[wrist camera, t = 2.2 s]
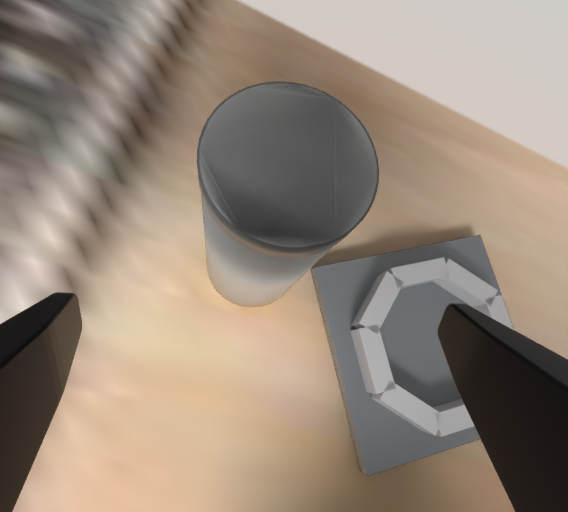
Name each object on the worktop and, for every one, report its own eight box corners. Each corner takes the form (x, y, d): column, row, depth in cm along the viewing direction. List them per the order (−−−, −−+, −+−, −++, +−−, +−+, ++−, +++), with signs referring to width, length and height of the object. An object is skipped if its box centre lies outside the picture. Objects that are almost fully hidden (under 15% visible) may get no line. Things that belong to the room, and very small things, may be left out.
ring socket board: (533, 415, 21) (565, 420, 19) (361, 471, 19) (377, 483, 17) (471, 239, 23) (494, 228, 21) (310, 270, 21) (320, 261, 19)
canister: (305, 298, 20) (400, 232, 10) (215, 317, 19) (216, 266, 9) (284, 214, 21) (352, 75, 11) (198, 228, 20) (182, 89, 10)
